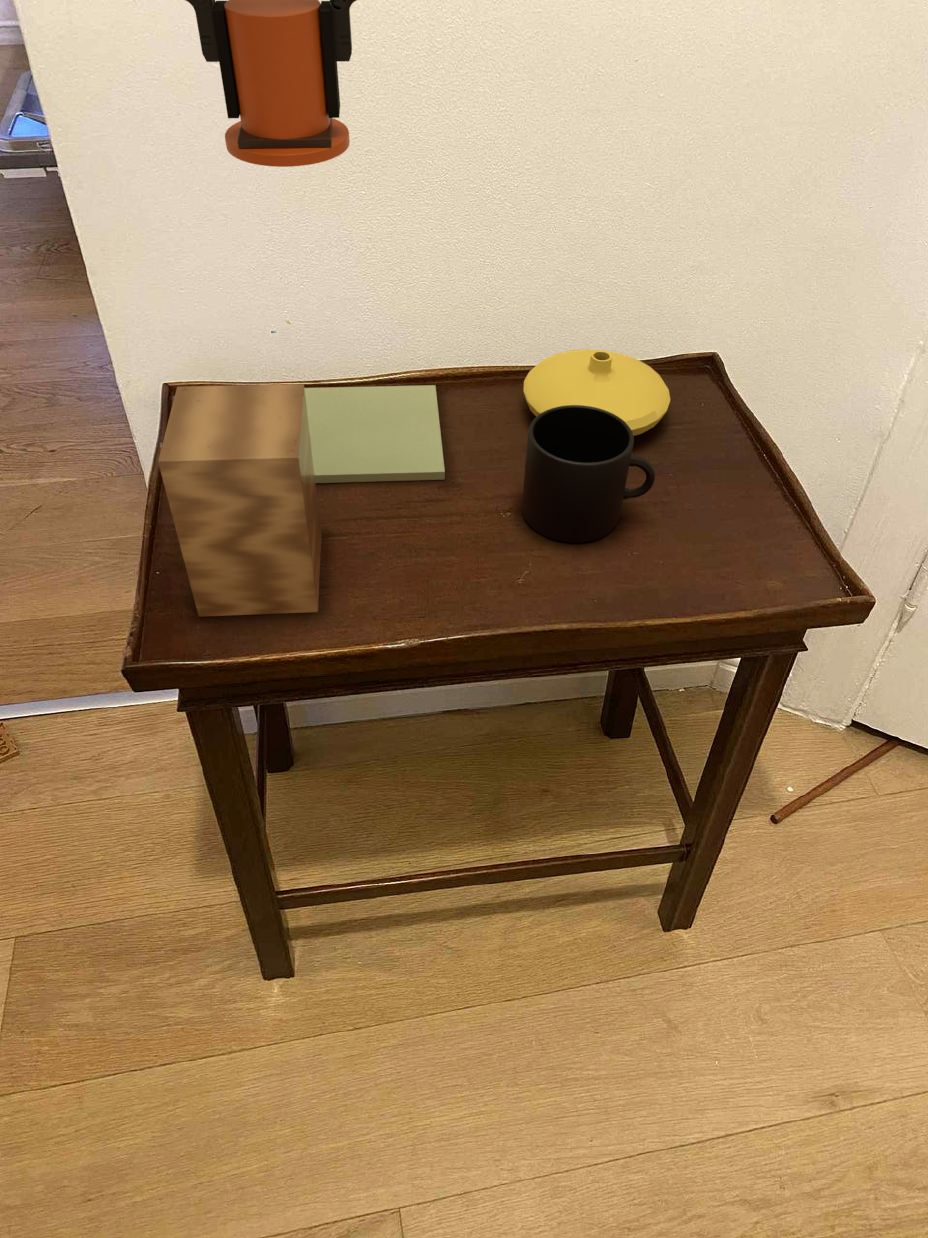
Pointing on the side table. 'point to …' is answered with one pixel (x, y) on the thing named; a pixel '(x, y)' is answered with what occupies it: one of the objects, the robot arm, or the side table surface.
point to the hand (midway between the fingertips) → (285, 110)
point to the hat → (280, 85)
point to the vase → (599, 386)
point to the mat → (375, 433)
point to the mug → (579, 472)
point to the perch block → (244, 498)
